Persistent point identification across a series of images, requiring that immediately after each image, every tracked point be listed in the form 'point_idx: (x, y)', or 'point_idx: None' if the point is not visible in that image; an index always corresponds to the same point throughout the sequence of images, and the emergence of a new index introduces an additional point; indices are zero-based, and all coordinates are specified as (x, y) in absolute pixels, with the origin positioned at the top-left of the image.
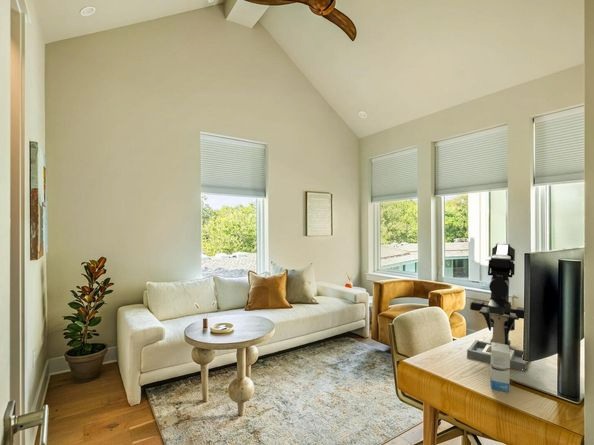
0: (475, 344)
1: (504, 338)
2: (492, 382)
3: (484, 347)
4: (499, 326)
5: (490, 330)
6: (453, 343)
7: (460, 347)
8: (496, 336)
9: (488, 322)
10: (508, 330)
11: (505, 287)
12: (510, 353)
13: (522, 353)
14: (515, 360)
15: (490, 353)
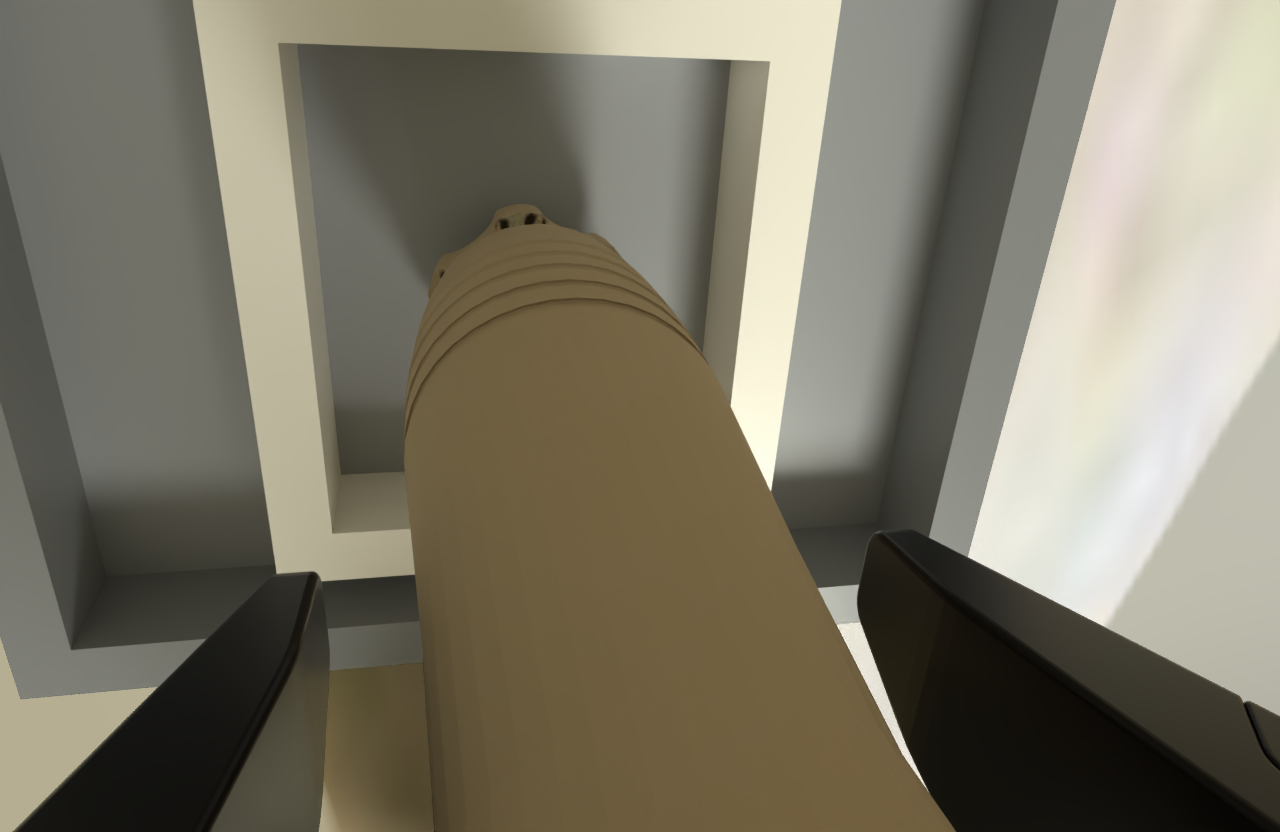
0: (958, 395)
1: (408, 473)
2: None
3: None
4: (627, 638)
5: (875, 539)
6: (1215, 417)
7: (1128, 312)
8: (638, 367)
9: (1158, 700)
10: (221, 664)
11: None
12: (290, 352)
13: (148, 613)
14: (201, 288)
15: (659, 14)
